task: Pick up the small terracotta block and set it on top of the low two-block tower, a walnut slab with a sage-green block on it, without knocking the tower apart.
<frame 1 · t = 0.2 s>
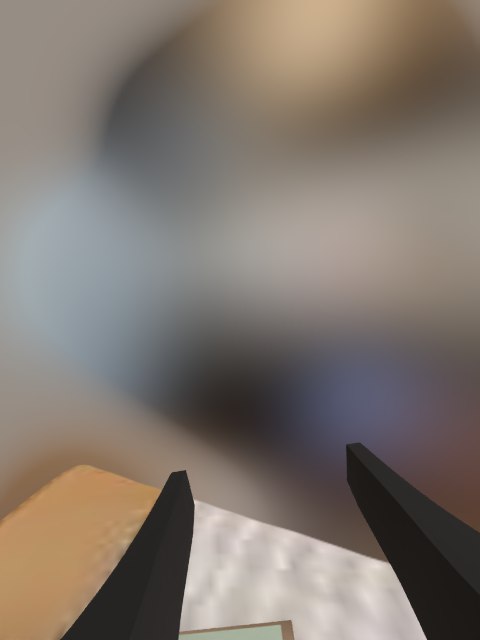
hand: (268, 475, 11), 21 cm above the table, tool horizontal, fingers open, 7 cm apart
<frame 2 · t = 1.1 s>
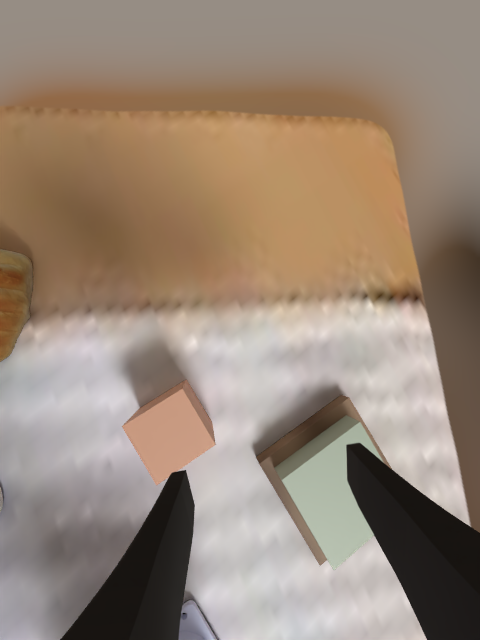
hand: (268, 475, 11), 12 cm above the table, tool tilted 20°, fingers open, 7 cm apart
tower base: (324, 467, 24), on the table, touching tower top
tower top: (334, 479, 22), point 1 cm above the table, touching tower base
terracotta block: (176, 415, 22), on the table
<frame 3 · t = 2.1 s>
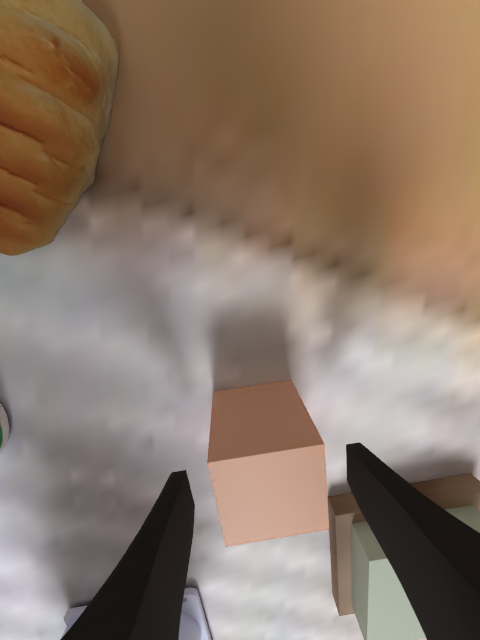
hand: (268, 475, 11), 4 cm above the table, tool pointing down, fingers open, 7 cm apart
pastry: (43, 129, 11), on the table
tower base: (390, 526, 19), on the table, touching tower top
tower top: (409, 557, 17), point 1 cm above the table, touching tower base
terracotta block: (256, 418, 15), on the table
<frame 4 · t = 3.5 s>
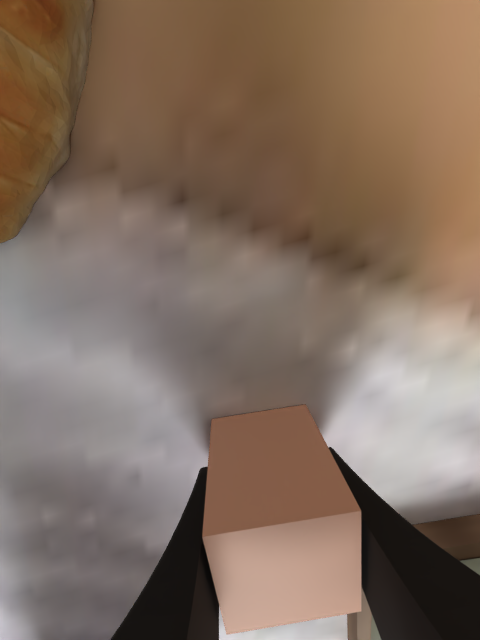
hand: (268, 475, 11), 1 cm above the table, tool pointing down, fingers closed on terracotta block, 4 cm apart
pastry: (1, 90, 8), on the table
tower base: (415, 565, 16), on the table, touching tower top
tower top: (438, 609, 15), point 1 cm above the table, touching tower base
terracotta block: (263, 450, 12), on the table, touching gripper
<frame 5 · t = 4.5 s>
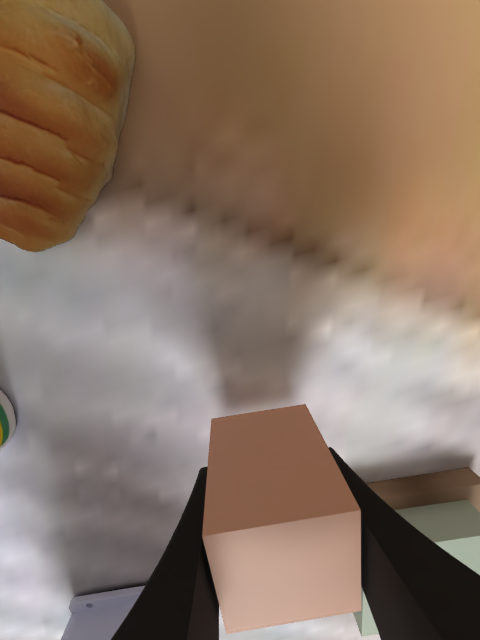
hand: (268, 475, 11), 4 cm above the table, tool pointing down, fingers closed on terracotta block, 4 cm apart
pastry: (61, 126, 11), on the table
tower base: (388, 519, 19), on the table, touching tower top
tower top: (403, 550, 17), point 1 cm above the table, touching tower base
terracotta block: (263, 449, 12), point 3 cm above the table, touching gripper
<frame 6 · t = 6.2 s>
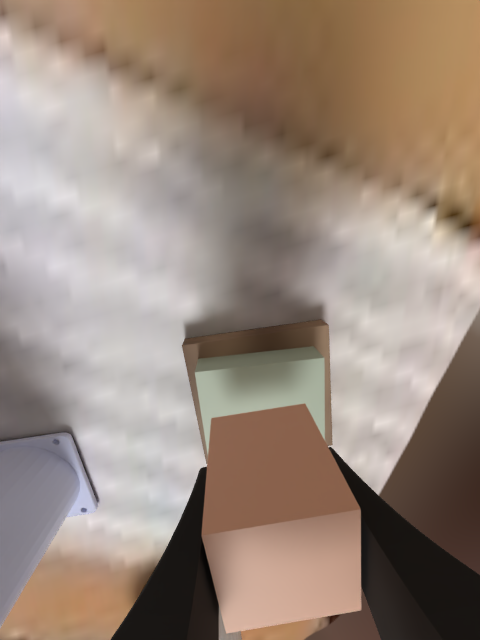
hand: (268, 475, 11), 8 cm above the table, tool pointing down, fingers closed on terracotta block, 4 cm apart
tower base: (259, 385, 20), on the table, touching tower top
tower top: (260, 403, 18), point 1 cm above the table, touching tower base
terracotta block: (263, 449, 12), point 7 cm above the table, touching gripper
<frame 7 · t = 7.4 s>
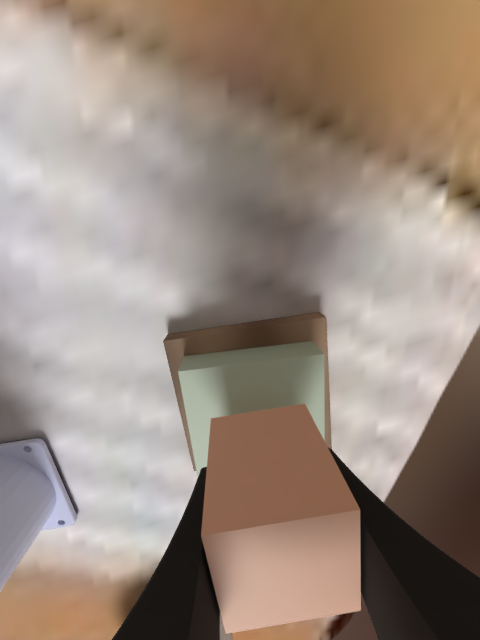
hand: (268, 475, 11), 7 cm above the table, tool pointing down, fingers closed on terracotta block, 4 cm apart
tower base: (251, 384, 18), on the table, touching tower top
tower top: (253, 404, 16), point 1 cm above the table, touching tower base
terracotta block: (263, 449, 12), point 5 cm above the table, touching gripper
when the fingers open (7 cm above the table, at t = 7.6 s): terracotta block drops 2 cm, resting on tower top.
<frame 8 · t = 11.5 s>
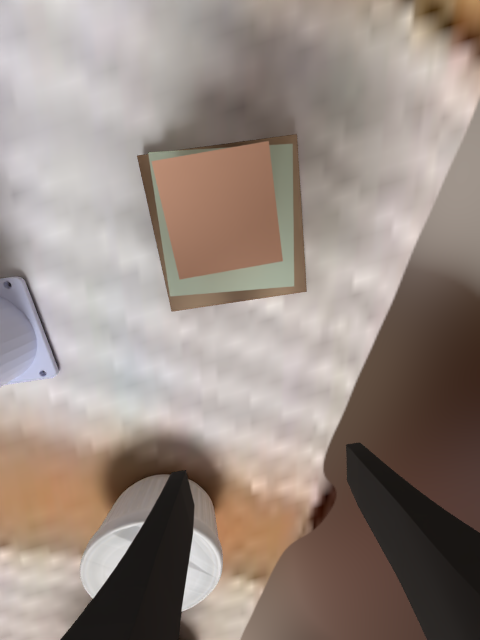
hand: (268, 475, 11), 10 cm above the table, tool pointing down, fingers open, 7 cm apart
tower base: (228, 231, 19), on the table, touching tower top
tower top: (227, 227, 17), point 1 cm above the table, touching terracotta block, tower base
terracotta block: (222, 225, 15), point 3 cm above the table, touching tower top
ramekin: (167, 506, 25), on the table
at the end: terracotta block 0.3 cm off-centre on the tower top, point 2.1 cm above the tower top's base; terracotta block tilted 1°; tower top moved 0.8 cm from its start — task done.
